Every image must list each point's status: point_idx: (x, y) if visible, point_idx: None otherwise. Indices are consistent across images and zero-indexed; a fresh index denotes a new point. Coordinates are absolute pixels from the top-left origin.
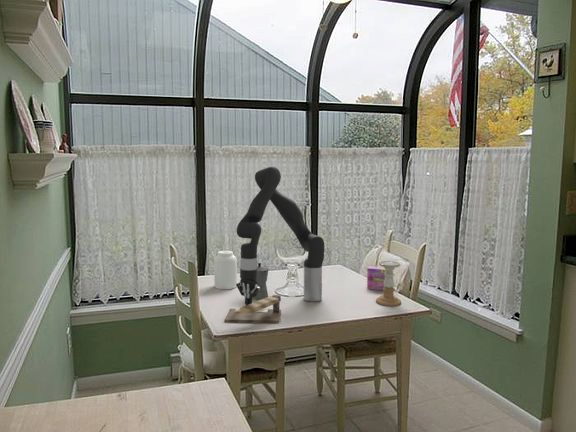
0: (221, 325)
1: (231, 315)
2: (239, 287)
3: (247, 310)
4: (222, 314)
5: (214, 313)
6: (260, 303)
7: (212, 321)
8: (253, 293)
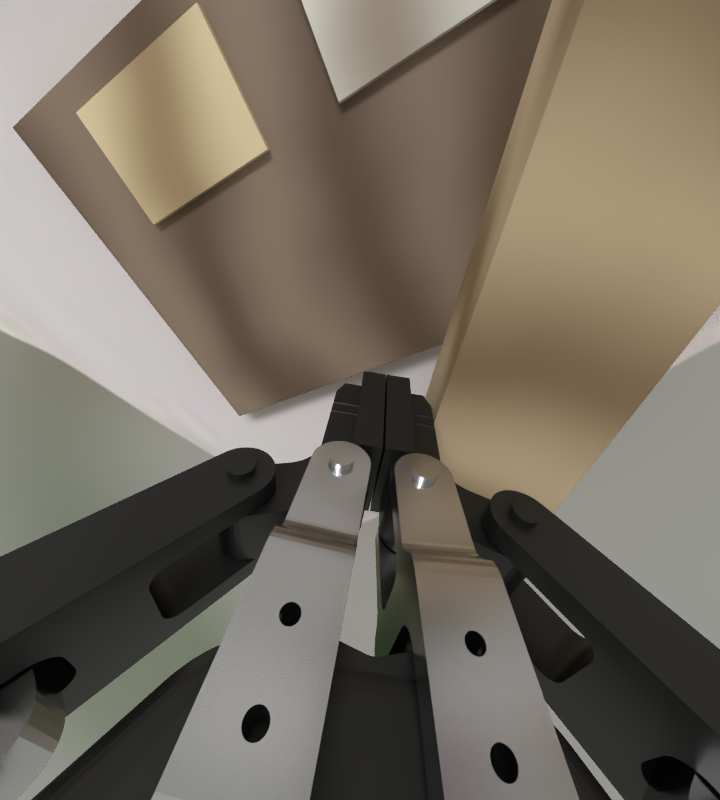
0: (273, 451)
1: (209, 323)
2: (79, 699)
3: None
4: (93, 270)
5: (29, 280)
6: (583, 385)
7: (178, 421)
8: (558, 677)
